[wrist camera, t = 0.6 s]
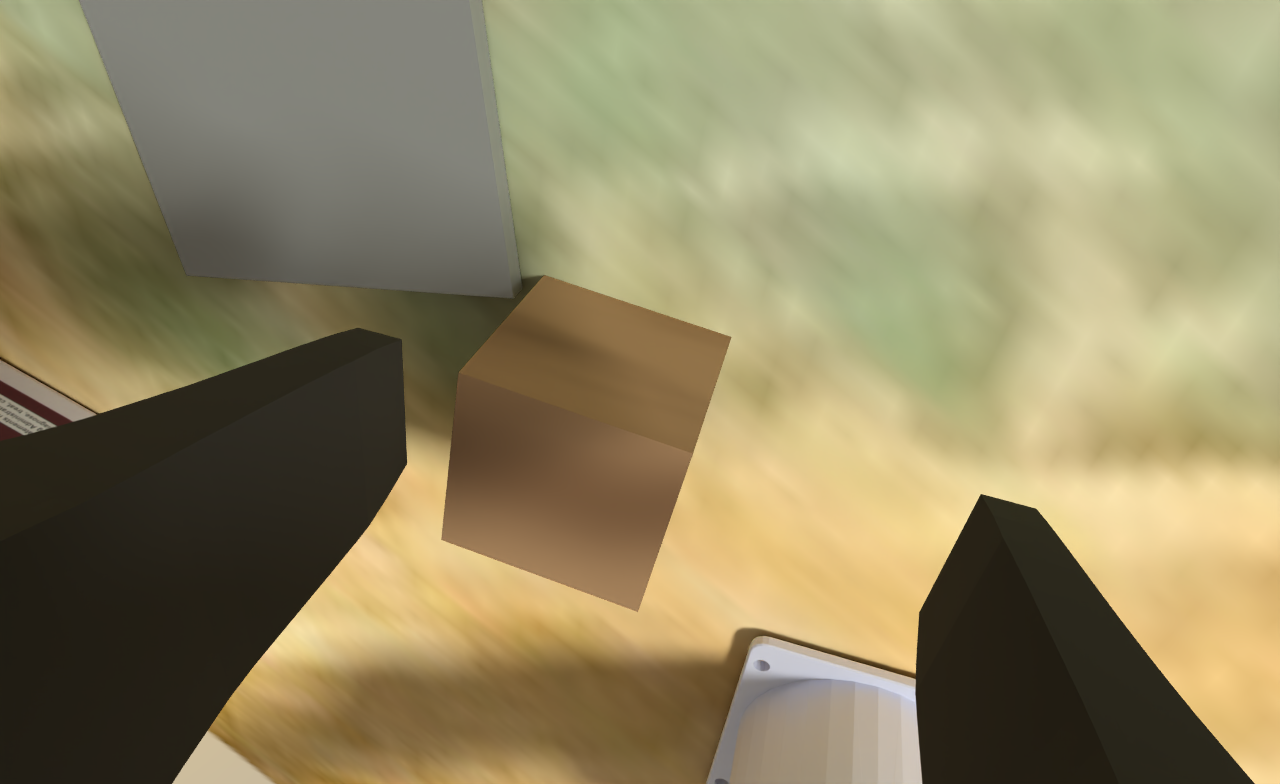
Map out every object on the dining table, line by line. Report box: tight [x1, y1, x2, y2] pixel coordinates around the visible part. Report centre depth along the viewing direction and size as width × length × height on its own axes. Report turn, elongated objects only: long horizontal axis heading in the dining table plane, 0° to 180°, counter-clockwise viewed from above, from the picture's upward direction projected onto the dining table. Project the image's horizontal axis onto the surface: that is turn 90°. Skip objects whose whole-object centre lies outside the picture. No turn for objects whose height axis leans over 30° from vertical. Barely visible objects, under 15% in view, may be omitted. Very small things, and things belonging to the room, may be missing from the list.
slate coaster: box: [79, 0, 523, 298], centre depth 18 cm, size 10×10×1 cm
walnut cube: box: [441, 275, 731, 612], centre depth 19 cm, size 5×5×5 cm
